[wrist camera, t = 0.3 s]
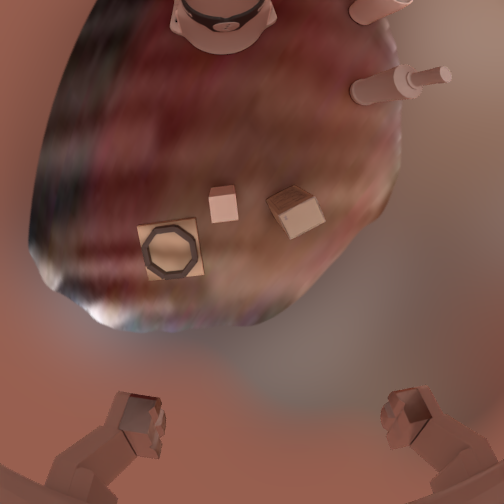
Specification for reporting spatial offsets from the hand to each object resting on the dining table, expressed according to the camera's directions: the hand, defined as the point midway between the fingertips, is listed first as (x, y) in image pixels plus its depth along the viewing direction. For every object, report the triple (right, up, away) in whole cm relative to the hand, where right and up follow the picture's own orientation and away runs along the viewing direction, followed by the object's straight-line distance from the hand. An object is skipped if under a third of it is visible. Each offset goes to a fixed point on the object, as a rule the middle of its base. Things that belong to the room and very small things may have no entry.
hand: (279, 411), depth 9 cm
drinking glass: (+20, +51, +32) cm, 64 cm away
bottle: (+19, +35, +38) cm, 55 cm away
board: (-16, +6, +46) cm, 49 cm away
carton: (-6, +15, +44) cm, 47 cm away
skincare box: (+5, +15, +45) cm, 48 cm away
